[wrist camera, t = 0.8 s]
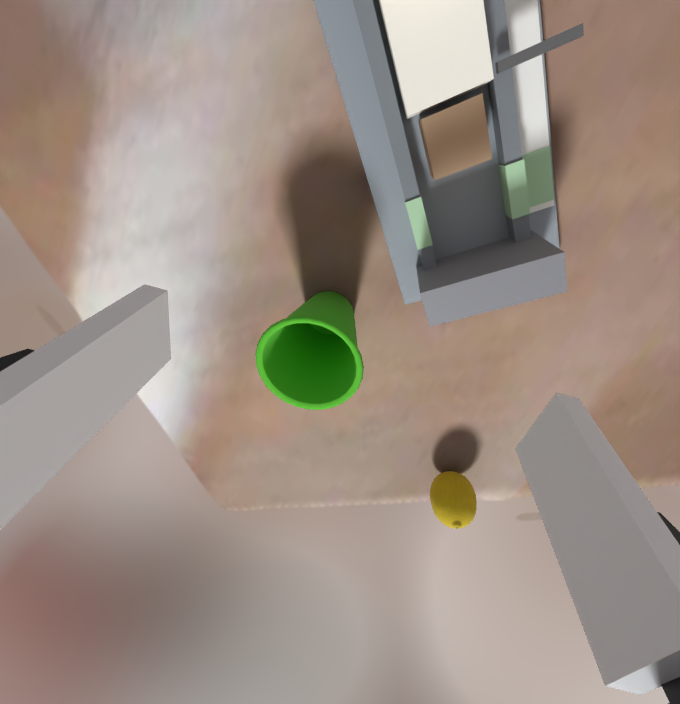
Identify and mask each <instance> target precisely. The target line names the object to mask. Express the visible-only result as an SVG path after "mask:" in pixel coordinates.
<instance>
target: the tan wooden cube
mask: <svg viewBox="0 0 680 704" xmlns="http://www.w3.org/2000/svg"><path fill="white" fill-rule="evenodd" d="M418 123H419V127H420V132H421V136H422V140H423V145H424V149H425V154H426V158H427V163H428V167H429V171H430V176H431V177H432V178H433V179H434V180H437V179H440V178H443V177H445V176H448V175H451V174H453V173H456V172H459V171H461V170H464V169H467V168H469V167H472V166H475V165H477V164H480V163H483V162H485V161H488V160H491V159H492V154H491V147H490V140H489V134H488V127H487V120H486V114H485V107H484V100H483V94H482V93H481V94H479V95H477V96H474V97H472V98H470V99H467V100H465V101H463V102H461V103H458V104H456V105H454V106H451V107H449V108H447V109H444V110H442V111H440V112H437V113H435V114H433V115H430V116H428V117H426V118H423V119H421V120H420V121H419V122H418Z"/></svg>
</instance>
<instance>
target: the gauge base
mask: <svg viewBox="0 0 680 704" xmlns="http://www.w3.org/2000/svg"><path fill="white" fill-rule="evenodd" d="M313 1H314V4H315V7H316V10H317V14H318V17H319V20H320V24H321V27H322V30H323V34H324V37H325V40H326V44H327V47H328V50H329V54H330V57H331V60H332V64H333V67H334V70H335V73H336V77H337V80H338V83H339V87H340V90H341V93H342V97H343V100H344V103H345V107H346V110H347V113H348V117H349V120H350V123H351V127H352V130H353V133H354V137H355V140H356V143H357V146H358V150H359V153H360V156H361V160H362V163H363V166H364V170H365V173H366V176H367V180H368V183H369V186H370V190H371V193H372V196H373V200H374V203H375V206H376V210H377V213H378V216H379V219H380V223H381V226H382V229H383V233H384V236H385V239H386V243H387V246H388V249H389V253H390V256H391V259H392V263H393V266H394V269H395V273H396V276H397V279H398V282H399V286H400V289H401V292H402V296H403V299H404V302H405V305H406V304H410V303H414V302H417V301H421V300H422V302H423V306H424V310H425V313H426V317H427V320H428V324H429V327H430V326H434V325H438V324H442V323H445V322H449V321H453V320H457V319H461V318H465V317H469V316H473V315H477V314H481V313H485V312H489V311H492V310H496V309H500V308H504V307H508V306H512V305H516V304H520V303H524V302H528V301H532V300H536V299H540V298H543V297H547V296H551V295H555V294H559V293H563V292H567V283H566V270H565V256H564V252H563V251H562V250H560V248H559V236H558V223H557V211H556V198H555V186H554V173H553V160H552V148H551V135H550V123H549V110H548V97H547V85H546V72H545V60H544V54H542V55H539V56H537V57H535V58H533V59H530V60H528V61H526V62H523V63H521V64H519V65H517V66H514V67H512V68H510V69H508V70H505V71H503V72H501V73H498V74H497V73H496V66H495V63H496V62H498V61H500V60H502V59H504V58H507V57H509V56H511V55H513V54H516V53H518V52H520V51H522V50H524V49H527V48H529V47H531V46H533V45H535V44H538V43H540V42H542V41H543V34H542V22H541V9H540V0H483V2H484V9H485V17H486V24H487V32H488V39H489V46H490V54H491V61H492V69H493V76H494V79H493V80H491V81H489V82H488V83H486V84H485V85H483V86H482V87H479V88H477V89H475V90H472V91H470V92H468V93H466V94H463V95H461V96H459V97H456V98H454V99H452V100H450V101H447V102H445V103H443V104H440V105H438V106H436V107H433V108H431V109H429V110H427V111H424V112H422V113H420V114H417V115H415V116H413V117H411V118H408V119H407V118H406V114H405V110H404V106H403V102H402V97H401V93H400V89H399V85H398V81H397V76H396V72H395V68H394V64H393V60H392V55H391V51H390V47H389V43H388V38H387V34H386V30H385V26H384V22H383V17H382V13H381V9H380V5H379V1H378V0H313ZM481 93H482V94H483V100H484V107H485V114H486V120H487V127H488V134H489V140H490V147H491V154H492V159H491V160H488V161H485V162H483V163H480V164H477V165H475V166H472V167H469V168H467V169H464V170H461V171H459V172H456V173H453V174H451V175H448V176H445V177H443V178H440V179H437V180H434V179H433V178H432V177H431V176H430V171H429V167H428V163H427V158H426V154H425V149H424V145H423V140H422V136H421V132H420V127H419V123H418V122H419V121H420V120H421V119H423V118H426V117H428V116H430V115H433V114H435V113H437V112H440V111H442V110H444V109H447V108H449V107H451V106H454V105H456V104H458V103H461V102H463V101H465V100H467V99H470V98H472V97H474V96H477V95H479V94H481Z"/></svg>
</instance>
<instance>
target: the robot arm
mask: <svg viewBox="0 0 680 704" xmlns="http://www.w3.org/2000/svg"><path fill="white" fill-rule="evenodd" d="M170 359H171V350H170V331H169V312H168V293H167V290H163V289H160V288H156V287H152V286H148V285H143V286H141V287H140V288H138V289H136V290H135V291H133V292H131V293H130V294H128V295H126V296H125V297H123V298H121V299H120V300H118V301H116V302H115V303H113V304H111V305H110V306H108V307H107V308H105V309H103V310H102V311H100V312H98V313H97V314H95V315H93V316H92V317H90V318H88V319H87V320H85V321H83V322H82V323H80V324H78V325H77V326H75V327H73V328H72V329H70V330H68V331H67V332H65V333H63V334H62V335H60V336H59V337H57V338H55V339H54V340H52V341H51V342H49V343H47V344H45V345H44V346H42V347H40V348H39V349H37V350H35V351H34V350H30V349H25V350H22V351H19V352H16V353H13V354H10V355H7V356H4V357H1V358H0V529H2V528H3V527H4V526H5V525H6V524H7V523H8V522H9V521H10V520H11V519H12V518H13V517H14V516H15V515H16V514H17V513H18V512H19V511H20V510H21V509H22V508H23V507H24V506H25V505H26V504H27V503H28V502H29V501H30V500H31V499H32V498H33V497H34V496H35V495H36V494H37V492H39V491H40V490H41V488H43V487H44V485H46V483H48V482H49V481H50V480H51V479H52V478H53V477H54V475H56V474H57V473H58V472H59V471H60V470H61V469H62V468H63V466H65V465H66V464H67V463H68V462H69V461H70V460H71V459H72V458H73V457H74V455H76V454H77V452H78V451H80V450H81V448H82V447H84V445H85V444H86V443H87V442H88V441H89V440H90V439H91V438H92V437H93V436H94V435H95V434H96V433H97V432H98V431H99V430H100V429H101V428H102V427H103V426H104V425H105V424H106V423H107V422H108V421H109V420H110V419H111V418H112V417H113V416H114V415H115V414H116V413H117V412H118V411H119V410H120V409H121V408H122V407H123V406H124V405H125V404H126V403H127V402H128V401H129V400H130V399H131V398H132V397H133V396H134V395H135V394H136V393H137V392H138V391H139V390H140V389H141V388H142V387H143V386H144V385H145V384H146V383H147V382H148V381H149V380H150V379H151V378H152V377H153V376H154V375H155V374H156V373H157V372H158V371H159V370H160V369H161V368H162V367H163V366H164V365H165V364H166V363H167V362H168V361H169V360H170ZM516 452H517V454H518V457H519V460H520V462H521V465H522V468H523V470H524V473H525V476H526V478H527V481H528V483H529V486H530V489H531V491H532V494H533V497H534V499H535V502H536V505H537V507H538V510H539V512H540V515H541V518H542V520H543V523H544V525H545V528H546V531H547V533H548V536H549V539H550V541H551V544H552V547H553V549H554V552H555V555H556V557H557V560H558V563H559V565H560V567H561V570H562V573H563V576H564V578H565V581H566V584H567V586H568V589H569V591H570V594H571V597H572V599H573V602H574V605H575V607H576V610H577V613H578V615H579V618H580V621H581V623H582V626H583V628H584V631H585V634H586V636H587V639H588V641H589V644H590V647H591V650H592V652H593V655H594V657H595V660H596V663H597V665H598V668H599V671H600V673H601V676H602V679H603V681H604V684H605V686H607V687H611V688H615V689H619V690H623V691H627V692H631V693H635V694H638V695H641V694H644V693H646V692H648V691H651V690H653V689H656V688H658V687H660V686H662V687H663V689H664V692H665V694H666V696H667V698H668V700H669V702H670V703H669V704H680V532H679V531H678V530H677V529H676V528H675V527H674V526H673V525H672V524H671V523H670V522H669V521H668V520H667V519H666V518H665V517H664V516H663V515H662V514H661V513H659V512H657V511H656V510H655V509H654V507H653V506H652V504H651V503H650V501H649V500H648V498H647V497H646V496H645V494H644V493H643V491H642V490H641V488H640V487H639V485H638V484H637V482H636V481H635V480H634V478H633V477H632V475H631V474H630V472H629V471H628V469H627V468H626V466H625V465H624V464H623V462H622V461H621V459H620V458H619V456H618V455H617V453H616V452H615V451H614V449H613V448H612V446H611V445H610V443H609V442H608V440H607V439H606V437H605V436H604V435H603V433H602V432H601V430H600V429H599V427H598V426H597V424H596V423H595V422H594V420H593V419H592V417H591V416H590V414H589V413H588V411H587V410H586V408H585V407H584V406H583V404H582V403H581V401H580V400H579V399H578V398H574V397H571V396H567V395H563V394H559V393H556V394H555V395H554V396H553V398H552V399H551V401H550V402H549V403H548V405H547V406H546V407H545V409H544V410H543V412H542V413H541V414H540V416H539V417H538V418H537V420H536V421H535V422H534V424H533V425H532V427H531V428H530V429H529V431H528V432H527V433H526V435H525V436H524V438H523V439H522V440H521V442H520V443H519V444H518V446H517V447H516Z"/></svg>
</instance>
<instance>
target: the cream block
mask: <svg viewBox="0 0 680 704" xmlns="http://www.w3.org/2000/svg"><path fill="white" fill-rule="evenodd" d="M378 1H379V5H380V9H381V13H382V17H383V22H384V26H385V30H386V34H387V38H388V43H389V47H390V51H391V55H392V60H393V64H394V68H395V72H396V76H397V81H398V85H399V89H400V93H401V97H402V102H403V106H404V110H405V114H406V118H407V119H408V118H411V117H413V116H415V115H417V114H420V113H422V112H424V111H427V110H429V109H431V108H433V107H436V106H438V105H440V104H443V103H445V102H447V101H450V100H452V99H454V98H456V97H459V96H461V95H463V94H466V93H468V92H470V91H472V90H475V89H477V88H479V87H482V86H483V85H485V84H486V83H488V82H489V81H491V80H493V79H494V76H493V69H492V61H491V54H490V46H489V39H488V32H487V24H486V17H485V9H484V2H483V0H378ZM582 36H583V23H582V24H580V25H578V26H575V27H573V28H571V29H569V30H567V31H564V32H562V33H560V34H558V35H555V36H553V37H551V38H549V39H547V40H544V41H542V42H540V43H538V44H535V45H533V46H531V47H529V48H527V49H524V50H522V51H520V52H518V53H516V54H513V55H511V56H509V57H507V58H504V59H502V60H500V61H498V62H496V63H495V66H496V73H497V74H498V73H501V72H503V71H505V70H508V69H510V68H512V67H514V66H517V65H519V64H521V63H523V62H526V61H528V60H530V59H533V58H535V57H537V56H539V55H542V54H544V53H546V52H548V51H551V50H553V49H555V48H557V47H560V46H562V45H564V44H567V43H569V42H571V41H573V40H576V39H578V38H580V37H582Z"/></svg>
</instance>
